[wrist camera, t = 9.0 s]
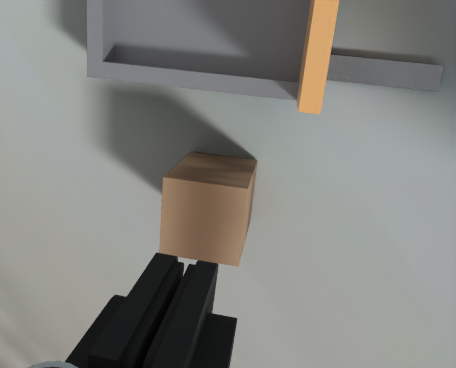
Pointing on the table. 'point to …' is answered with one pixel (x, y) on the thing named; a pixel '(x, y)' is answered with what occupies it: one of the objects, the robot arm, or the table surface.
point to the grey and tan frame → (216, 45)
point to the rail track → (384, 72)
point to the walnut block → (207, 208)
